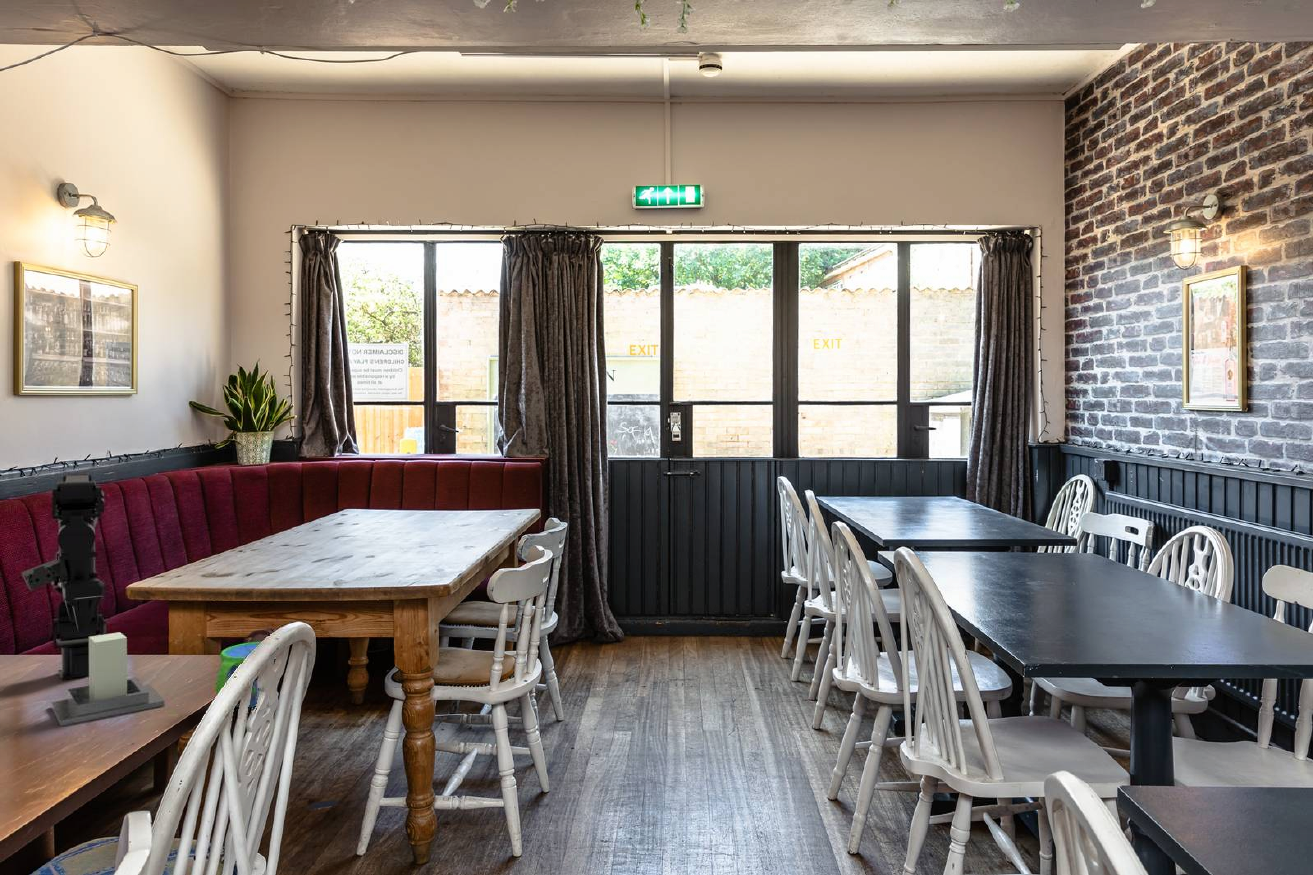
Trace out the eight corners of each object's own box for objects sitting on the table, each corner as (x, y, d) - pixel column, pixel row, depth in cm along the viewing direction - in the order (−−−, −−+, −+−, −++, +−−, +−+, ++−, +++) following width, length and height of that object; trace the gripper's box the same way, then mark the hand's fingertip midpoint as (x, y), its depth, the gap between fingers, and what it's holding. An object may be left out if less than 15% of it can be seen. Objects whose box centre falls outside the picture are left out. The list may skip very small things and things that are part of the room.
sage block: (89, 701, 158) (88, 636, 157) (120, 694, 161) (119, 632, 161) (95, 708, 154) (95, 642, 154) (127, 701, 158) (126, 637, 157)
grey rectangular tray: (51, 707, 157) (50, 691, 157) (150, 689, 168) (150, 674, 167) (60, 726, 148) (60, 709, 148) (164, 705, 159) (164, 689, 159)
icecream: (274, 639, 182) (290, 627, 197) (238, 631, 181) (257, 620, 195) (265, 671, 181) (282, 657, 196) (229, 663, 180) (248, 650, 195)
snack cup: (238, 720, 152) (238, 663, 152) (195, 711, 156) (195, 656, 156) (304, 693, 167) (304, 642, 166) (264, 686, 171) (264, 635, 170)
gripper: (19, 544, 165) (20, 623, 166) (31, 557, 151) (32, 644, 152) (87, 538, 173) (88, 615, 173) (105, 551, 159) (105, 634, 159)
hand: (77, 626), depth 164 cm, fingers open, 9 cm apart
